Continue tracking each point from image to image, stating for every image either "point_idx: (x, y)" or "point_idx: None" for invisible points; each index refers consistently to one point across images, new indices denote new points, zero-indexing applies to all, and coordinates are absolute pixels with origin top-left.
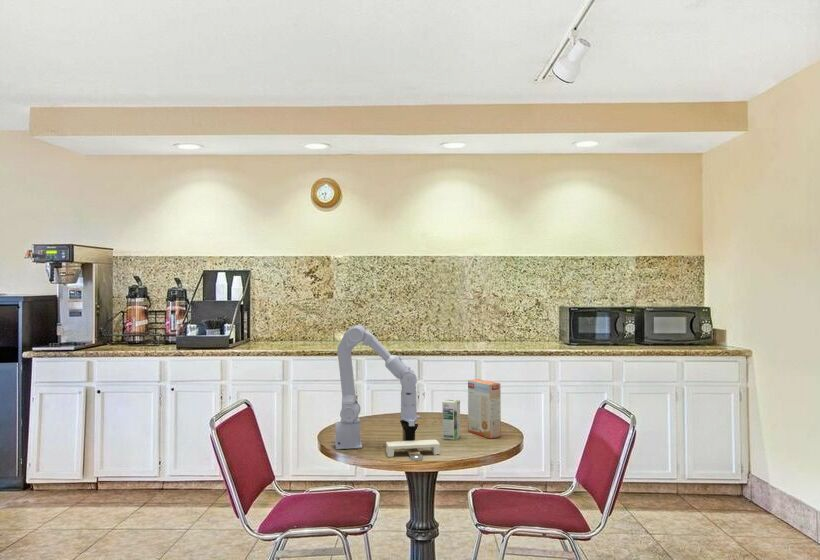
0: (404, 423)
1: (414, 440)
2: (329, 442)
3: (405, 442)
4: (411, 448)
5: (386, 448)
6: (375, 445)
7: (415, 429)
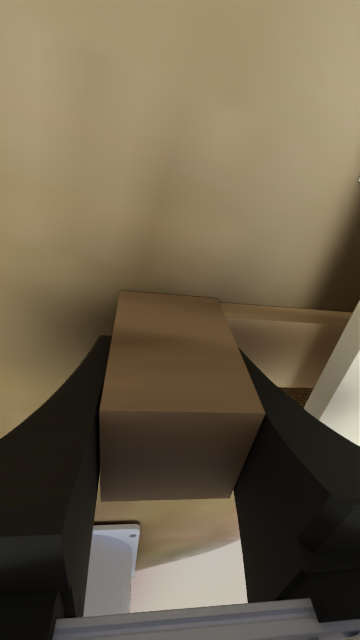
0: (83, 569)
1: (229, 338)
2: None
3: (350, 440)
4: (324, 362)
5: None
6: None
7: (354, 452)
